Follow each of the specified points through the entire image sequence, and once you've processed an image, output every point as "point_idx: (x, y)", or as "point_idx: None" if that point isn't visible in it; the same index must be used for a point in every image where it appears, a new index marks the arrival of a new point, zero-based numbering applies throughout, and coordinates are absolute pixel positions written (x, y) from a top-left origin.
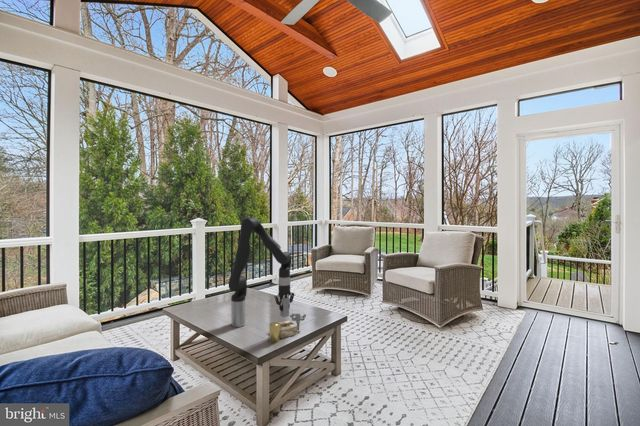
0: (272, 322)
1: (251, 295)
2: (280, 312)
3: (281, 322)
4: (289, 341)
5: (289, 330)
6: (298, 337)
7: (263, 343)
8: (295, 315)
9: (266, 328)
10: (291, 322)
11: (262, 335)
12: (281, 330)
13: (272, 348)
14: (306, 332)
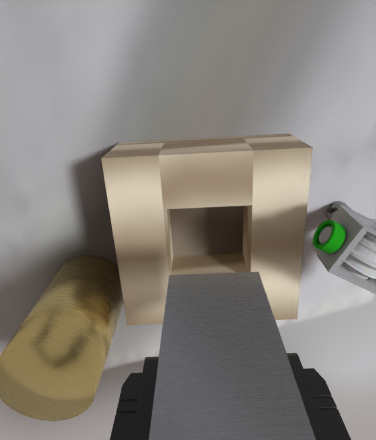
0: (31, 346)
1: None
2: (165, 304)
3: (212, 169)
4: None
5: None
6: None
7: (7, 291)
8: (369, 289)
9: (92, 36)
10: (302, 222)
11: (23, 171)
12: (136, 323)
13: None
14: (349, 289)
